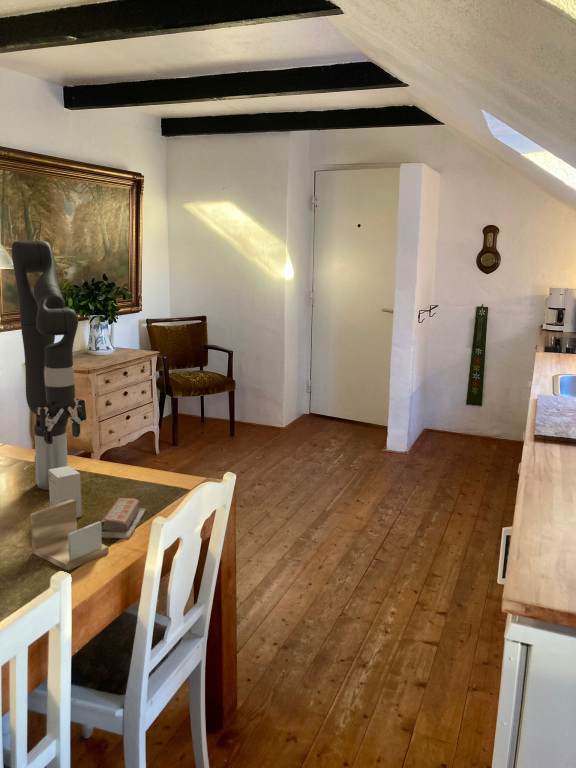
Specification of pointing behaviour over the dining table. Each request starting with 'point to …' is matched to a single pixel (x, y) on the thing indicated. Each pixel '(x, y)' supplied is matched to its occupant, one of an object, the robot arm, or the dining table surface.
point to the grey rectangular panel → (84, 541)
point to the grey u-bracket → (58, 535)
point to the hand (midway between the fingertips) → (62, 439)
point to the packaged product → (122, 518)
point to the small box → (65, 487)
